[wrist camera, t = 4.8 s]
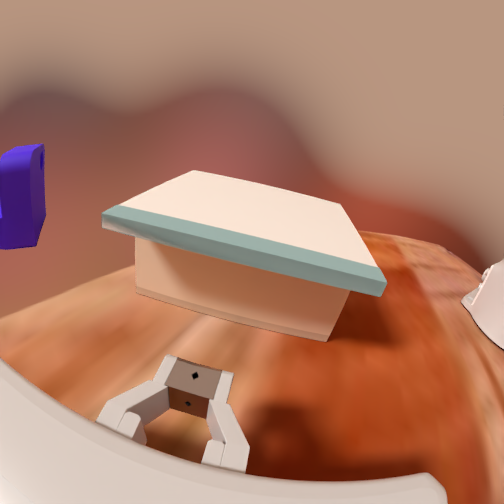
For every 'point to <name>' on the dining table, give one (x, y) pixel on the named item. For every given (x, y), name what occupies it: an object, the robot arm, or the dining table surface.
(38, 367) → the dining table surface
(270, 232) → the lid
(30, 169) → the bracket
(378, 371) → the dining table surface
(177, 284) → the box
